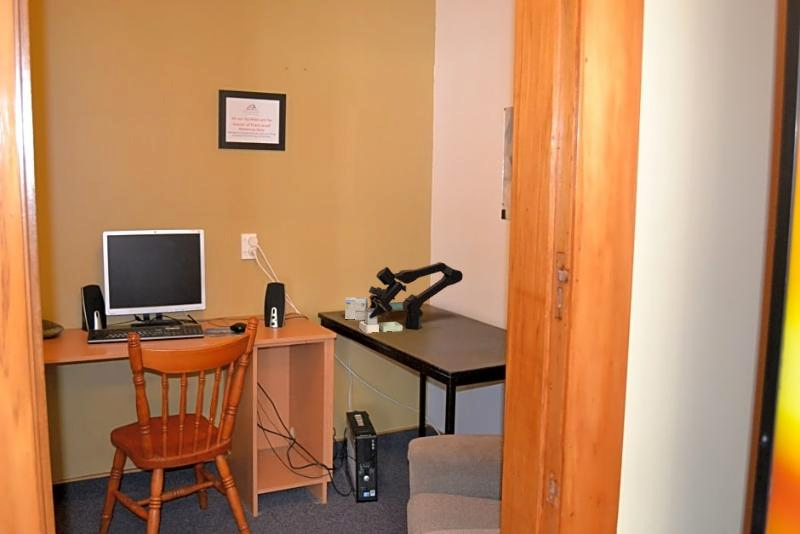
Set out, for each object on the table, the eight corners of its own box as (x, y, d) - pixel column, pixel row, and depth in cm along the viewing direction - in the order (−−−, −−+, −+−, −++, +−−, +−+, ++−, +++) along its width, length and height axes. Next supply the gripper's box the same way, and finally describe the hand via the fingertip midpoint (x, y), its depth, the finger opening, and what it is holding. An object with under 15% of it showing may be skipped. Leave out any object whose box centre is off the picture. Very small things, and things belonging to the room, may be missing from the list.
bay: (372, 328, 334) (372, 320, 333) (378, 332, 325) (378, 324, 324) (359, 328, 332) (359, 321, 331) (365, 333, 322) (365, 325, 322)
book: (371, 313, 375) (371, 303, 374) (401, 311, 382) (401, 301, 382) (389, 320, 355) (389, 311, 354) (420, 318, 362) (421, 309, 361)
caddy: (373, 329, 332) (373, 308, 330) (377, 331, 327) (377, 309, 326) (364, 329, 330) (364, 308, 329) (367, 331, 325) (368, 310, 324)
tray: (395, 327, 337) (395, 321, 337) (402, 330, 329) (402, 325, 329) (377, 328, 334) (377, 322, 334) (383, 332, 326) (383, 326, 325)
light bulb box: (368, 318, 358) (368, 297, 357) (366, 320, 352) (366, 299, 350) (347, 317, 359) (347, 296, 358) (344, 320, 353) (344, 298, 351)
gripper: (373, 277, 336) (350, 301, 333) (386, 283, 318) (362, 308, 316) (388, 293, 339) (366, 317, 337) (402, 299, 322) (378, 324, 320)
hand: (368, 316), depth 327 cm, fingers closed on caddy, 5 cm apart
